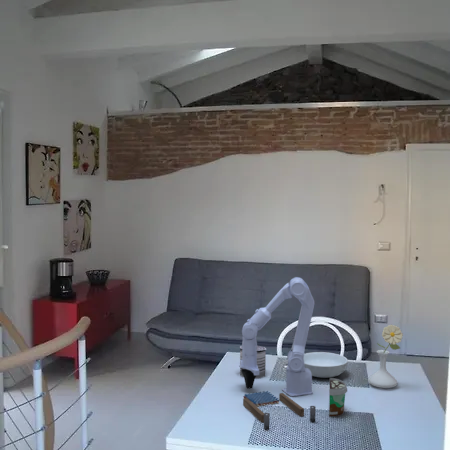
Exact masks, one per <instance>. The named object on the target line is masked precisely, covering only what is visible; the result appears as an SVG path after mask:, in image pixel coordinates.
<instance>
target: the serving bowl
mask: <svg viewBox="0 0 450 450" xmlns="http://www.w3.org/2000/svg"><path fill="white" fill-rule="evenodd" d="M304 363H305V365H304V367H305V368H308V369H309V370H310V371H311V374H312V377H316V378H319V379H320V378H321V379H323V378H325V379H326V378H327V379H328V378H329V379H330V378H334V377H337V376H340V375H341V374H343V373H344V372H345V371H346V369H347V367H348V363H349V360H348V358H347V357H345V356H344V355H341V354H338V353H333V352H328V351H327V352H324V351H313V352H306V353H304Z"/></svg>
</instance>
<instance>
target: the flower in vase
mask: <svg viewBox="0 0 450 450" xmlns="http://www.w3.org/2000/svg"><path fill="white" fill-rule="evenodd" d="M403 334H404V333H403V332H402V330H401V328H400V327H399V326H396V325H394V324H388V325H387V326H384V327H383V331H382V333H381V337H382V338H383V339H384V342H386V343H387V344H388V345H387V347H385V346H384V345H381V344H380V343H378V342H377V343H376V344H377V345H378V346H379V347H381V348H384V350H383V349H378V350H376V353H377V354H378V357H379V369H378V370H377V371H376V372H374V373H373V374H371V375H370V376H369V377H368V379H367V381H368V383H369V384H370V385H372V386H373V387H377V388H381V389H390V388H395V387H396V386H397V385H398V384H399V382H398V380H397V378H395V377H394V376H393V374H391V373H390V372H389V371H387V358H388V357H389V354H390V351H389V350H387V349H388V348H389V347H390V348H391V349H392V350H394V351H396V350H399V349H401V347H400V346H399V343H401V342H402V339H403V336H404V335H403Z"/></svg>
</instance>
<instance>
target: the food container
mask: <svg viewBox="0 0 450 450" xmlns="http://www.w3.org/2000/svg"><path fill="white" fill-rule="evenodd" d="M328 390H329V394H328V395H329V399H328V401H329V403H328V409H329V410H328V417H330V418H331V417H340V416H342V415H343V414H344V412H345V401H346V399H345V398H346V393H347V392H348V387H347V384H346V382H345V381H343V380H341V379H339V378H334V377H329V389H328Z"/></svg>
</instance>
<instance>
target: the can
mask: <svg viewBox="0 0 450 450" xmlns="http://www.w3.org/2000/svg"><path fill="white" fill-rule="evenodd" d="M239 348H240V349H239V352H240V354H239V356H240V357H239V361H240V360H242V345H240V346H239ZM266 351H267V348H266V347H265V346H262V345H261V346H260V345H257V366H258V369H259V375H257V376H256V377H255V380H257V379H263V378H265V377H266V367H267V366H266V360H267V359H266ZM241 369H244V368H240V367H239V376H240V377H242V378H244V376H243V374H242V372H241Z"/></svg>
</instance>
